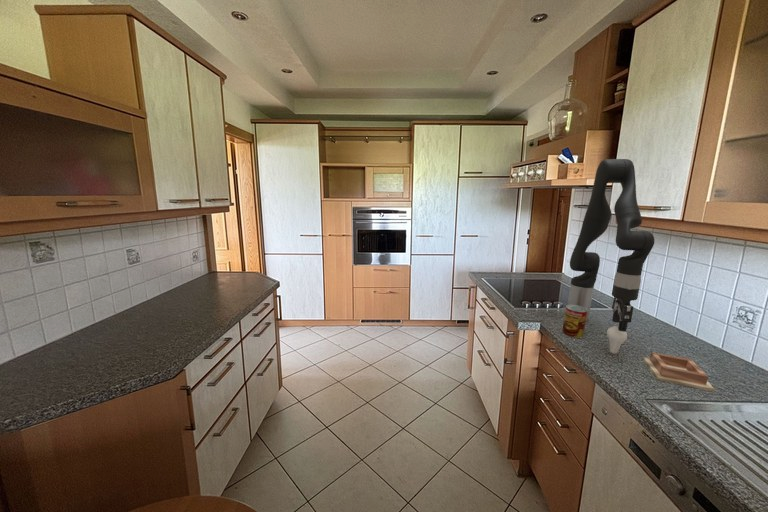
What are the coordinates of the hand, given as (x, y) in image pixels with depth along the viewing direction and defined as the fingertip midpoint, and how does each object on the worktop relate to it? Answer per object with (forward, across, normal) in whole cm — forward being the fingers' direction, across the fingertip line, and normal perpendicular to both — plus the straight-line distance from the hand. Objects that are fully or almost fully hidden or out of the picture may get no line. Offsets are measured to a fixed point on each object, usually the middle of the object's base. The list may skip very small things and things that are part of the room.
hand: (618, 326), depth 113 cm
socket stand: (+12, +7, +16) cm, 21 cm away
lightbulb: (+12, 0, 0) cm, 12 cm away
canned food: (+11, -12, -12) cm, 21 cm away
